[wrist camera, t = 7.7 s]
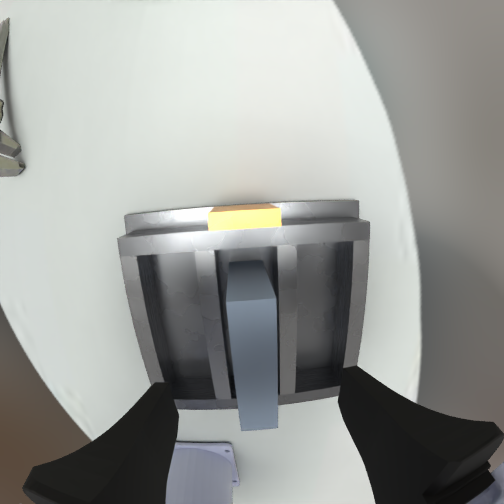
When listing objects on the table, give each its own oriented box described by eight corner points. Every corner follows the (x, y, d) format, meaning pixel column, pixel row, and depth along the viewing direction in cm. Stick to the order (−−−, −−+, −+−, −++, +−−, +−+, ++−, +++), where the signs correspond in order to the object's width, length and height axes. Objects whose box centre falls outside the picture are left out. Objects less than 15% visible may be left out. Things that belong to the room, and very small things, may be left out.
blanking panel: (266, 367, 19) (277, 427, 13) (238, 369, 19) (241, 431, 13) (262, 259, 17) (276, 298, 11) (228, 262, 17) (225, 301, 11)
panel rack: (343, 376, 20) (362, 413, 16) (164, 391, 19) (152, 431, 15) (355, 200, 17) (391, 205, 12) (127, 214, 16) (94, 224, 12)
